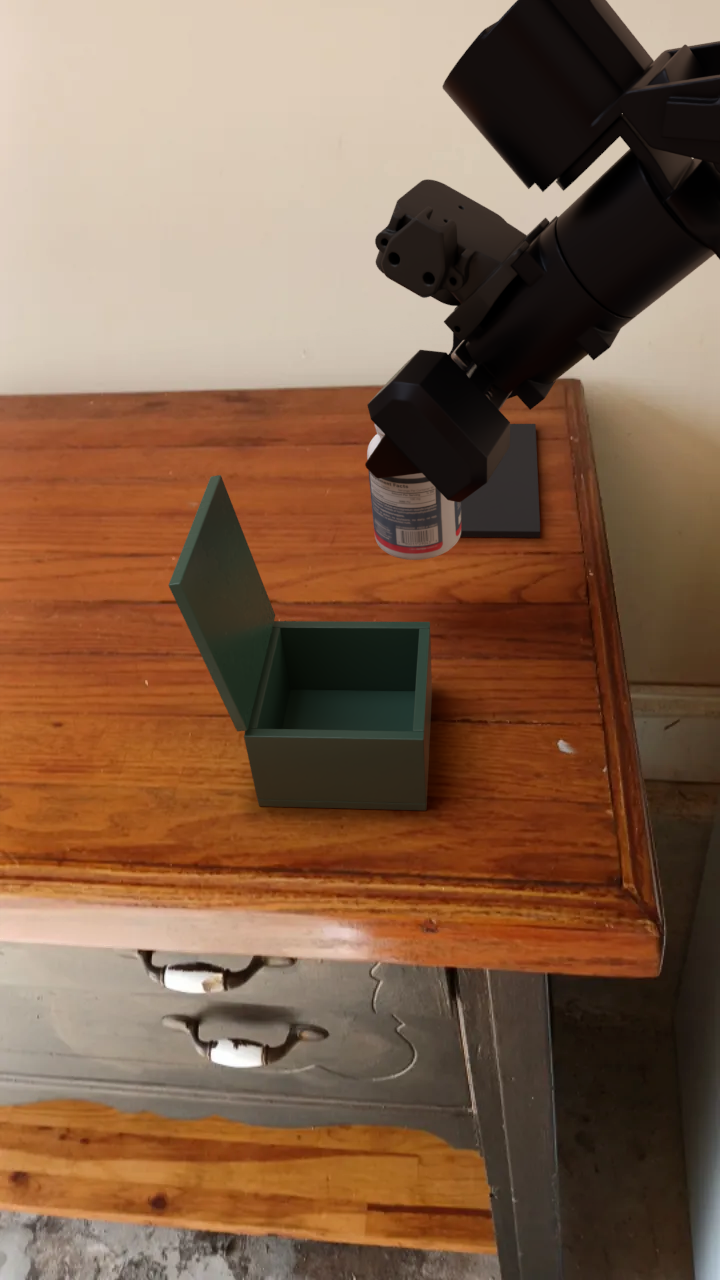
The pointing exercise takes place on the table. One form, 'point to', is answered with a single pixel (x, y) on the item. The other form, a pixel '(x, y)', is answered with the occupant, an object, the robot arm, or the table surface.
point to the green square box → (343, 716)
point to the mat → (507, 493)
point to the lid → (224, 602)
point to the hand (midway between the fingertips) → (391, 446)
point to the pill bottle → (412, 514)
